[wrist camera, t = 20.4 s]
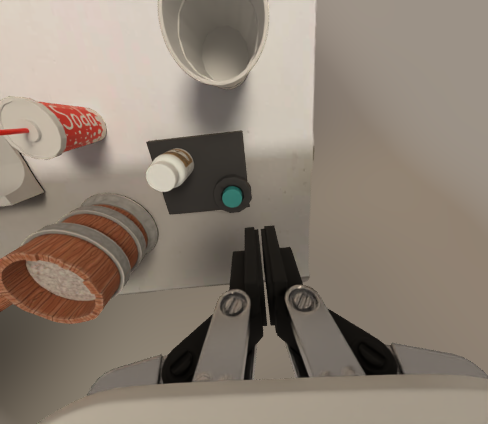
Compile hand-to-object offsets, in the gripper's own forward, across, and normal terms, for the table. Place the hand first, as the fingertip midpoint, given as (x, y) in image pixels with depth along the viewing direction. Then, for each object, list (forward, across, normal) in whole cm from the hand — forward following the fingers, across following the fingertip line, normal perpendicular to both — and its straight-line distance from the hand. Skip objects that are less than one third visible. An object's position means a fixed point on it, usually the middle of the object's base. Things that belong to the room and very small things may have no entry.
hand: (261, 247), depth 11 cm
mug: (+21, +28, +10) cm, 37 cm away
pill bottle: (+20, +11, -1) cm, 23 cm away
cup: (+22, +2, -13) cm, 26 cm away
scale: (+22, +8, +2) cm, 23 cm away
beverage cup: (+22, +23, -8) cm, 32 cm away
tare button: (+19, +3, +4) cm, 20 cm away
